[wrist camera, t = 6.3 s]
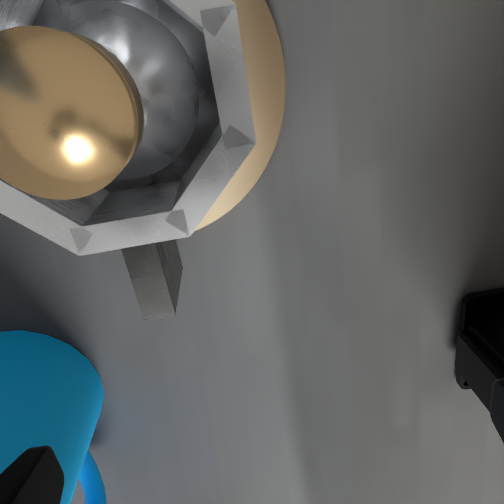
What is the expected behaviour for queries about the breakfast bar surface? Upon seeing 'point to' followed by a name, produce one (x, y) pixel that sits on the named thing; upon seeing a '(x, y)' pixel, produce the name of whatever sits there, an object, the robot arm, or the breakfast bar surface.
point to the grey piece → (167, 179)
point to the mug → (50, 407)
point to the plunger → (92, 100)
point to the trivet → (256, 100)
